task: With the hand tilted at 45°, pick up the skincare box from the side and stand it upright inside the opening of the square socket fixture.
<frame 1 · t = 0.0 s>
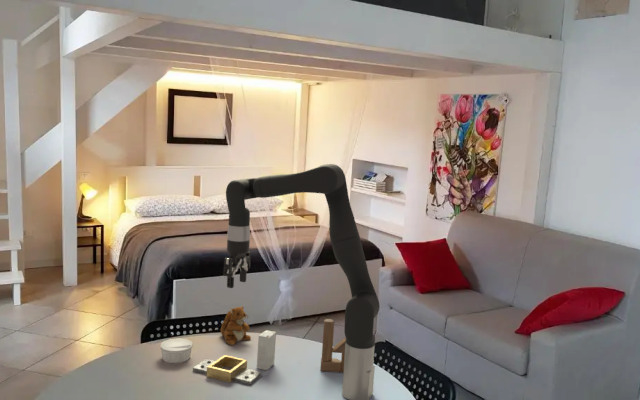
hand: (236, 284, 186), 29 cm above the table, tool pointing down, fingers open, 8 cm apart
skincare box: (265, 366, 191), on the table
ramekin: (176, 358, 194), on the table
stuffed squirrel: (233, 338, 215), on the table
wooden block: (335, 370, 191), on the table
square socket fixture: (227, 373, 184), on the table
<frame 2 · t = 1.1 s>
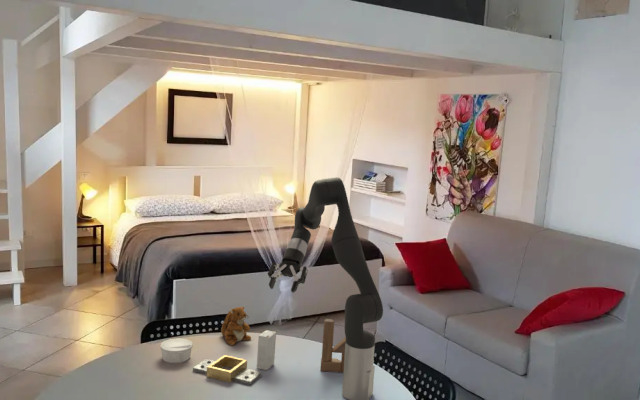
hand: (281, 289, 198), 25 cm above the table, tool tilted 45°, fingers open, 8 cm apart
nothing on the table moved.
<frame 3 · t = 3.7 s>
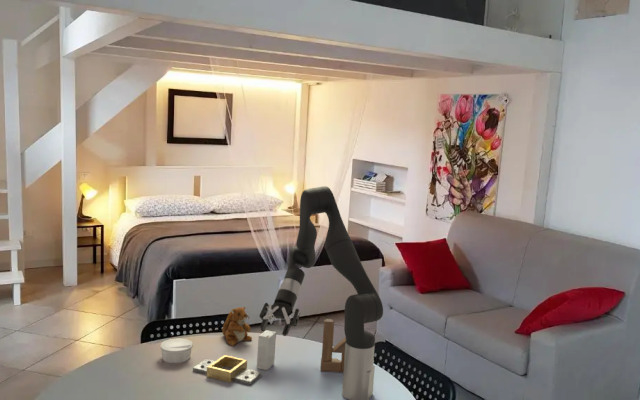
hand: (273, 332, 194), 11 cm above the table, tool tilted 45°, fingers open, 8 cm apart
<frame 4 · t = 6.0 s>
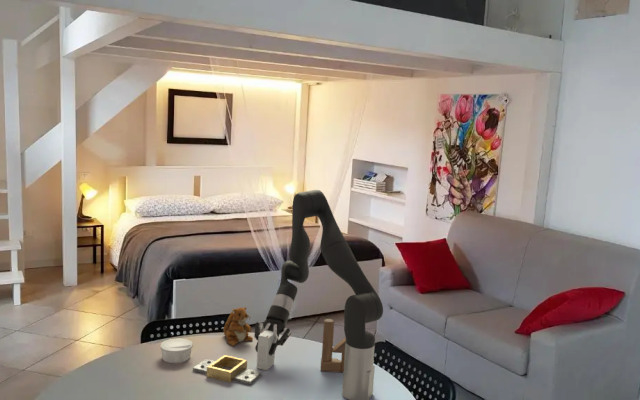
hand: (263, 353, 189), 6 cm above the table, tool tilted 45°, fingers closed on skincare box, 4 cm apart
skincare box: (265, 366, 191), on the table, touching gripper
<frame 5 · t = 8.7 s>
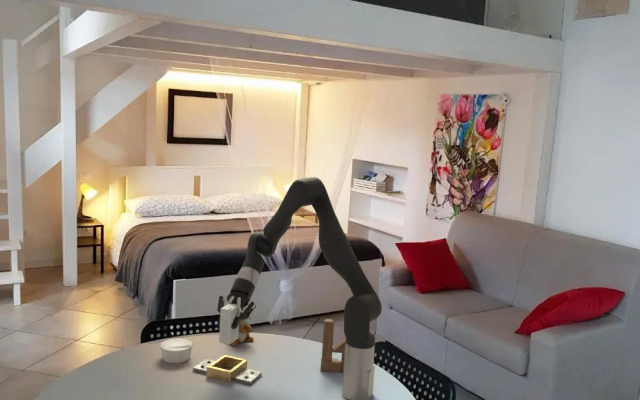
hand: (226, 326, 180), 17 cm above the table, tool tilted 45°, fingers closed on skincare box, 4 cm apart
skincare box: (229, 341, 183), point 11 cm above the table, touching gripper
when the fingers open (7 cm above the table, at t = 11.4 s): skincare box drops 1 cm, resting in square socket fixture.
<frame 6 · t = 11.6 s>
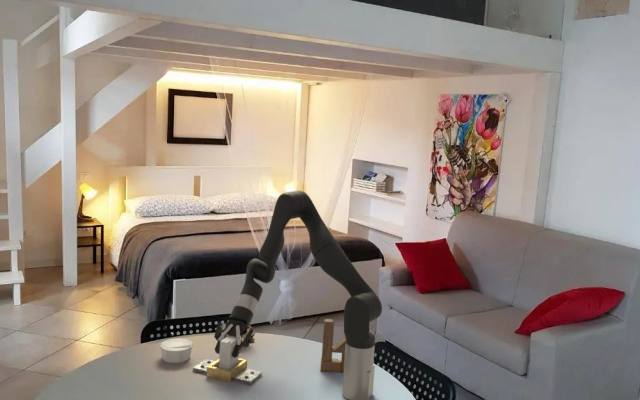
hand: (225, 354, 182), 7 cm above the table, tool tilted 45°, fingers open, 6 cm apart
skincare box: (228, 373, 184), resting in square socket fixture
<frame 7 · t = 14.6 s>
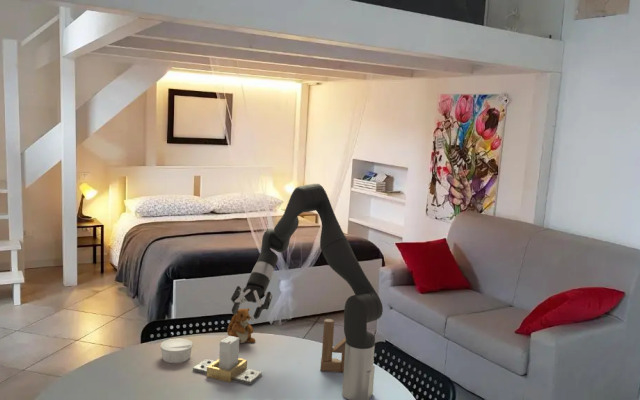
hand: (244, 315, 192), 17 cm above the table, tool tilted 45°, fingers open, 8 cm apart
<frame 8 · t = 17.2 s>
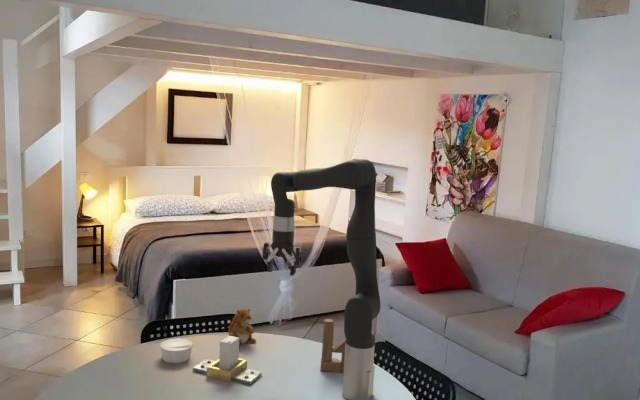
hand: (281, 273, 193), 32 cm above the table, tool pointing down, fingers open, 8 cm apart
at the end: skincare box 0.4 cm off-centre on the square socket fixture, point 0.0 cm above the square socket fixture's base; skincare box tilted 0°; the gripper is holding nothing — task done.
